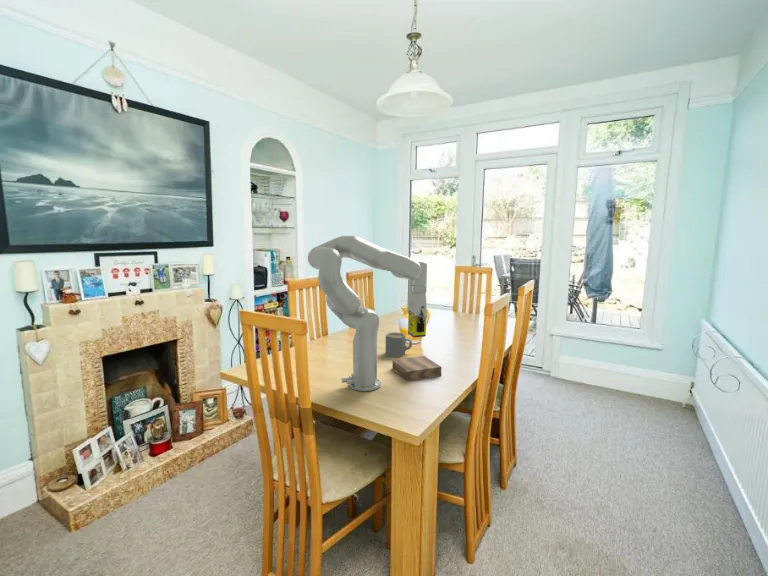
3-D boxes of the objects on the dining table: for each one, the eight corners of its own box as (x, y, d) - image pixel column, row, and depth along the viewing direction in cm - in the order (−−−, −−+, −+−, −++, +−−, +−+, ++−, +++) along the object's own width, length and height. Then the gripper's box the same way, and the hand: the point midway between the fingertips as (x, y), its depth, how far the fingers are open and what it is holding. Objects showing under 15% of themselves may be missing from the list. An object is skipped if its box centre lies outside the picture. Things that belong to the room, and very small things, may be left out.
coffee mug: (384, 356, 190) (384, 337, 188) (386, 350, 199) (387, 332, 198) (410, 357, 188) (411, 338, 186) (412, 351, 197) (412, 333, 196)
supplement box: (407, 334, 168) (408, 309, 166) (419, 333, 170) (420, 309, 168) (413, 337, 162) (413, 312, 161) (425, 336, 164) (426, 311, 163)
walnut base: (407, 380, 158) (407, 371, 158) (392, 368, 173) (392, 359, 172) (441, 375, 164) (441, 366, 163) (423, 364, 179) (424, 355, 178)
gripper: (401, 286, 170) (400, 326, 172) (419, 292, 154) (418, 335, 156) (416, 286, 172) (415, 325, 175) (435, 291, 157) (434, 334, 159)
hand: (416, 329), depth 166 cm, fingers closed on supplement box, 6 cm apart
